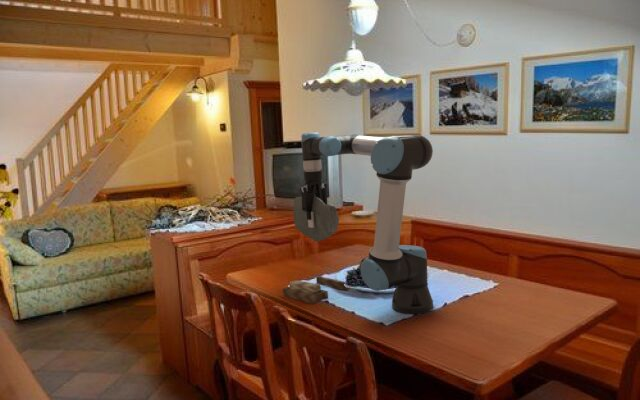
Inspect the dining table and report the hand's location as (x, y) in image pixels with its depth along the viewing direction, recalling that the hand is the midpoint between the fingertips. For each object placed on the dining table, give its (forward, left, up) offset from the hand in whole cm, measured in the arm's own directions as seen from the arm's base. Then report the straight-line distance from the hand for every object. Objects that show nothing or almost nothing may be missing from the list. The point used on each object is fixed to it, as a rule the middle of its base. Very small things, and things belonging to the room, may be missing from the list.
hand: (316, 225), depth 202 cm
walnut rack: (0, +2, -28) cm, 28 cm away
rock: (0, 0, -7) cm, 7 cm away
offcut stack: (0, +9, -28) cm, 30 cm away
